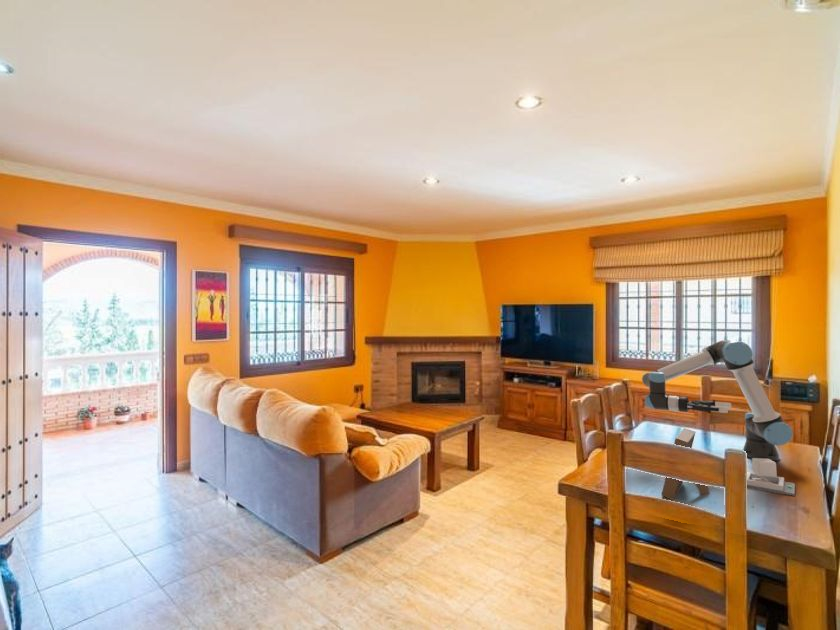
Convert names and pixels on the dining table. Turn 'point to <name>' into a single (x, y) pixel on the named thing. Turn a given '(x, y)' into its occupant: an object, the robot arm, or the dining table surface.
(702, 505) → the dining table surface
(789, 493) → the camera dock
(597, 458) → the dining table surface
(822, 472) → the dining table surface
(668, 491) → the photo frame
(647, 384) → the robot arm
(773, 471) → the security camera
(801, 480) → the dining table surface
